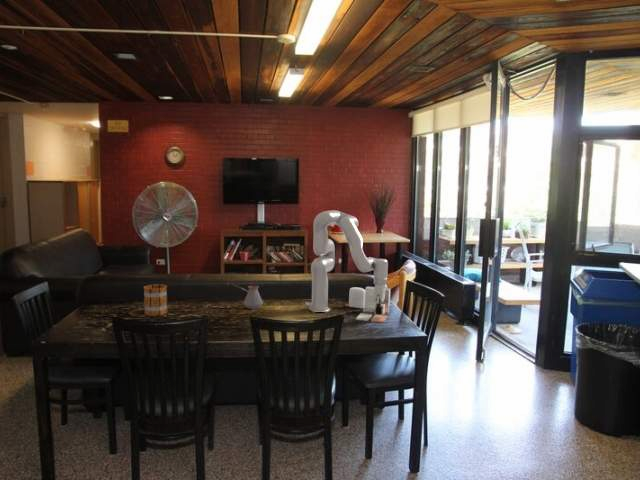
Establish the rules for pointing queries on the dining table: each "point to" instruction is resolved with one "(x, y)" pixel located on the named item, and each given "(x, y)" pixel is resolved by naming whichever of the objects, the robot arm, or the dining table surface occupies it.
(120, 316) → the dining table surface
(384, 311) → the birch block
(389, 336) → the dining table surface
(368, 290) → the wall unit
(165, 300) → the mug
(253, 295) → the coffee pot
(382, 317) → the terracotta pad
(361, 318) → the sage pad
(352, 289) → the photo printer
